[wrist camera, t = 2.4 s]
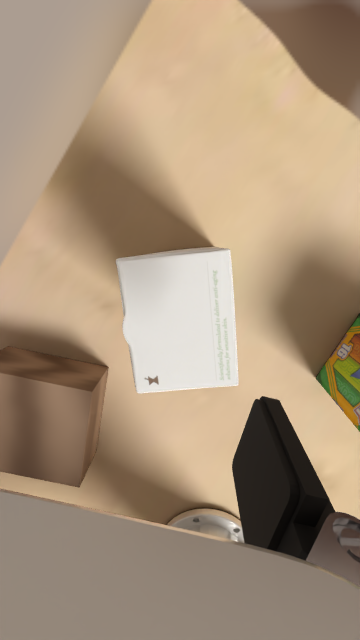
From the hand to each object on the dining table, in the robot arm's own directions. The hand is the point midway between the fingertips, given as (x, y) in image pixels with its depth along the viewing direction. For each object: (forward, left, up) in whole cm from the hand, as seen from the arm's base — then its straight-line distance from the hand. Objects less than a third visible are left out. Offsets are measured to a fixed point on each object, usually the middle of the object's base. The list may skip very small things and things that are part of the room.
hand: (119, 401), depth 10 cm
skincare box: (-2, -1, -22) cm, 22 cm away
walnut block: (+10, +17, -22) cm, 30 cm away
